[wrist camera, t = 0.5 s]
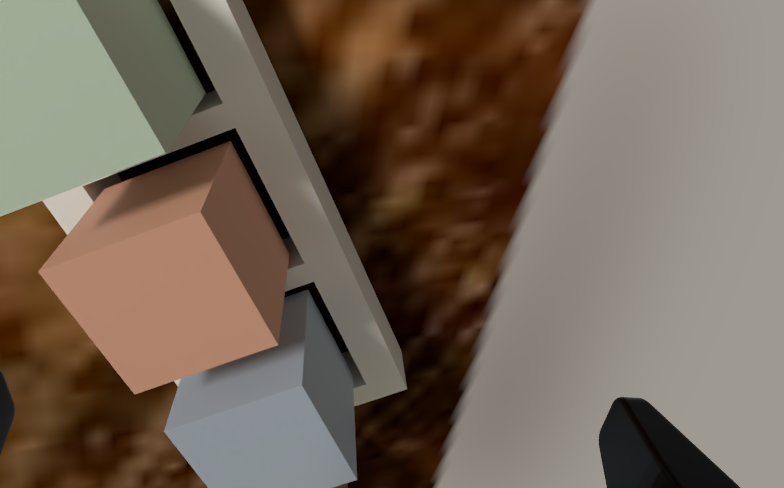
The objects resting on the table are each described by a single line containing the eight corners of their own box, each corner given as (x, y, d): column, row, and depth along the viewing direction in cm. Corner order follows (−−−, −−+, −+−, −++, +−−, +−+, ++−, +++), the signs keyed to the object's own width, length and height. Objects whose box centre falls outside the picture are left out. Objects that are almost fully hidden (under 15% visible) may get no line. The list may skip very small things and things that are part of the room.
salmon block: (174, 294, 21) (134, 394, 17) (104, 188, 19) (37, 271, 15) (289, 253, 21) (278, 345, 17) (230, 140, 19) (200, 211, 15)
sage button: (74, 144, 19) (-4, 218, 14) (-22, -1, 16) (-150, 34, 12) (206, 93, 18) (165, 153, 14) (124, -62, 16) (47, -50, 12)
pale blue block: (250, 409, 24) (233, 519, 20) (196, 328, 22) (164, 431, 18) (352, 375, 24) (357, 479, 20) (308, 289, 22) (302, 385, 17)
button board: (232, 407, 27) (223, 449, 25) (-69, -33, 18) (-122, -24, 16) (401, 350, 26) (407, 389, 24) (179, -140, 17) (157, -146, 15)
